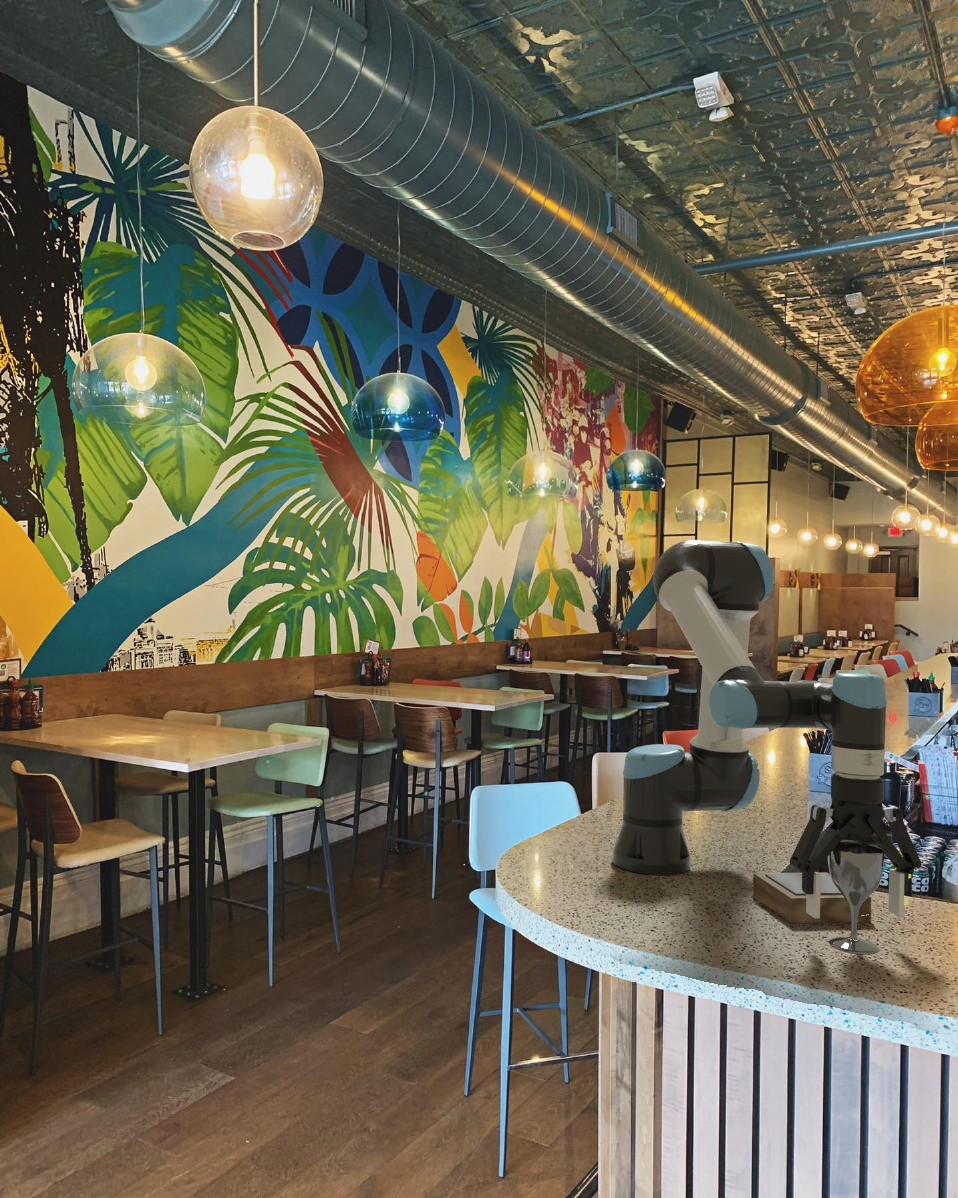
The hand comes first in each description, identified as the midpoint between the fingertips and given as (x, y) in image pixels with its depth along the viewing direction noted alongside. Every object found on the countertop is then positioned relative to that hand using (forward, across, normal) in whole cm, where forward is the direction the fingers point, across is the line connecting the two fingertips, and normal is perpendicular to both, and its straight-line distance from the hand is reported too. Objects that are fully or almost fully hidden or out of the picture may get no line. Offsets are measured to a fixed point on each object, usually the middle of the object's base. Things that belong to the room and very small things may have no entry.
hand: (854, 915), depth 136 cm
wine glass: (+5, 0, 0) cm, 5 cm away
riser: (+4, +2, +17) cm, 18 cm away
